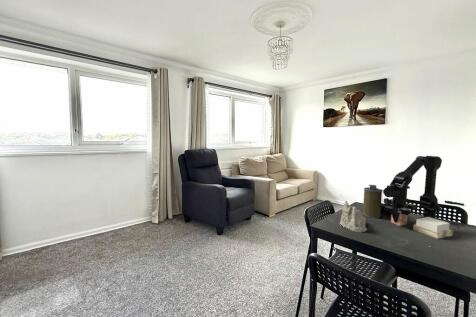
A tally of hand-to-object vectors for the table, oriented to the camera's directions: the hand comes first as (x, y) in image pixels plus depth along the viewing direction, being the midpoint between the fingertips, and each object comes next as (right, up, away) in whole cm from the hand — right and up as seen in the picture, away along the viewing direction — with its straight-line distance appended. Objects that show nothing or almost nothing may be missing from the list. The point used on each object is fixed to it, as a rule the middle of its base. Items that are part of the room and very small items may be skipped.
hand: (398, 221), depth 139 cm
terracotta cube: (0, -1, 0) cm, 1 cm away
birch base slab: (+10, -3, -12) cm, 16 cm away
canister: (-8, 0, +14) cm, 16 cm away
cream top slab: (+9, 0, -13) cm, 16 cm away
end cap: (+4, 0, +16) cm, 17 cm away
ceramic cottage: (-28, -2, -3) cm, 28 cm away
